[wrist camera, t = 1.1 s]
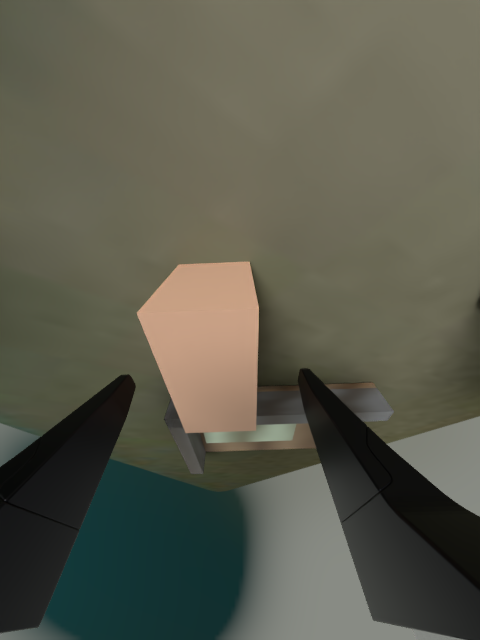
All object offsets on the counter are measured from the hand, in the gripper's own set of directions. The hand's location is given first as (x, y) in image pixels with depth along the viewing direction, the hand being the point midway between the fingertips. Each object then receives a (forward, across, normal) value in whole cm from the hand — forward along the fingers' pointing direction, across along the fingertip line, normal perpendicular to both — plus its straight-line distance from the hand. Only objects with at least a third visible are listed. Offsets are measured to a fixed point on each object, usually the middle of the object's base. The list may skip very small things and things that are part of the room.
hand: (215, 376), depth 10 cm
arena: (+5, -4, +14) cm, 16 cm away
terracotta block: (+5, 0, 0) cm, 5 cm away
